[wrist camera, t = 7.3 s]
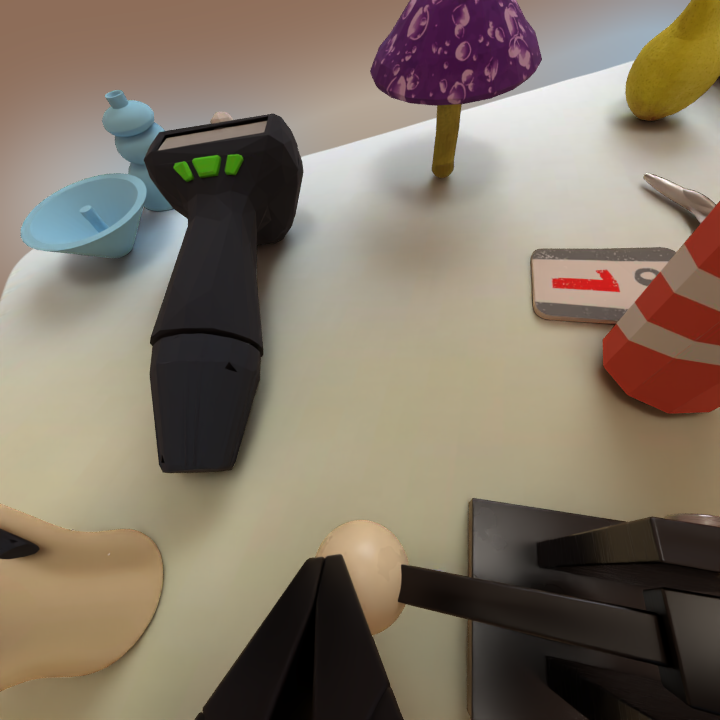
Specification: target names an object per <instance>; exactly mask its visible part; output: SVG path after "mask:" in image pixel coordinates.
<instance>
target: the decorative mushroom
mask: <svg viewBox="0 0 720 720" xmlns="http://www.w3.org/2000/svg"><path fill="white" fill-rule="evenodd" d="M541 60H542V58H541V54H540V50H539V46H538V41H537V37H536V34H535V31H534V30H533V28H532V27H531V26H530V24H529V23H528V22H527V21H526V19H525V17H524V15H523V13H522V11H521V9H520V7H519V5H518V3H517V1H516V0H410V2H409V3H408V5H407V6H406V8H405V10H404V11H403V13H402V15H401V16H400V18H399V20H398V21H397V23H396V25H395V27H394V28H393V30H392V31H391V33H390V34H389V35H388V37H387V38H386V39H385V41H384V42H383V43H382V44H381V45H380V47H379V49H378V52H377V54H376V57H375V59H374V62H373V65H372V68H371V71H370V72H371V75H372V78H373V79H374V82H375V84H376V86H377V87H378V88H379V89H380V90H381V91H382V92H384V93H385V94H387V95H388V96H390V97H391V98H395V99H398V100H402V101H405V102H408V103H414V104H426V105H437V124H436V137H435V146H434V155H433V164H432V172H433V173H434V175H435V176H436V177H439V178H445V177H447V176H449V175H450V174H451V172H452V171H453V169H454V156H455V149H456V143H457V137H458V131H459V122H460V113H461V105H462V104H465V103H470V102H475V101H480V100H485V99H490V98H493V97H495V96H498V95H500V94H503V93H506V92H508V91H511V90H513V89H515V88H516V87H517V86H519V85H520V84H522V83H523V82H525V81H526V80H527V79H528V78H529V77H530V76H531V75H532V74H533V73H534V72H535V71H536V69H537V67H538V66H539V64H540V62H541Z"/></svg>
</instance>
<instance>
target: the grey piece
mask: <svg viewBox="0 0 720 720" xmlns="http://www.w3.org/2000/svg"><path fill="white" fill-rule="evenodd" d="M644 175H645V174H644ZM644 179H645V180H646V181H647V182H648V183H649V184H650V185H651V186H652V187H654V188H655V189H656V190H657V191H659V192H660V193H661V194H663V195H664V196H666V197H667V198H669V199H670V200H672V201H674V202H675V203H677V204H679V205H680V206H682V207H684V208H685V209H687V210H689V211H690V212H692V213H693V214H694V215H695V217H696V218H697V219H698V221H699V222H700V223H702V222H703V220H704V219H705V218H706V217H707V216H708V214H709V213H710V212H711V211H712V210H713V208H714V207H715V206H716V204H715V203H714V202H713V201H711V200H710V199H709V198H708V197H706V196H705V195H703V194H701V193H699V192H697V191H694V190H690V189H685V188H683V187H681V186H679V185H677V184H675V183H673V182H671V181H669V180H667V179H664V178H662V177H659V176H656V175H654V174H651V173H647V174H646V175H645V176H644Z"/></svg>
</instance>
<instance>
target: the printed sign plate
mask: <svg viewBox="0 0 720 720" xmlns="http://www.w3.org/2000/svg"><path fill="white" fill-rule="evenodd" d="M675 254H676V252H675V251H673V250H671V249H668V248H661V247H657V248H614V249H537V250H535V251H534V252H533V254H532V257H531V266H532V288H533V308H534V311H535V313H536V314H537V315H538V316H540V317H541V318H543V319H548V320H561V321H576V322H591V323H607V324H616V323H617V322H618V321H619V320H620V319H621V317H622V316H623V315H624V314H625V313H626V312H627V310H628V309H629V308H630V307H631V306H632V304H633V303H634V302H635V301H636V300H637V299H638V297H639V296H640V295H641V294H642V293H643V291H644V290H645V289H646V288H647V287H648V286H649V284H650V283H651V282H652V281H653V280H654V278H655V277H656V276H657V275H658V274H659V272H660V271H661V270H662V269H663V268H664V267H665V265H666V264H667V263H668V262H669V261H670V259H671V258H672V257H673V256H674V255H675Z"/></svg>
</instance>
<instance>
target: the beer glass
mask: <svg viewBox="0 0 720 720" xmlns="http://www.w3.org/2000/svg"><path fill="white" fill-rule="evenodd" d="M162 585H163V563H162V558H161V555H160V552H159V550H158V548H157V546H156V544H155V543H154V542H153V541H152V539H151V538H149V537H148V536H147V535H145V534H144V533H142V532H140V531H137V530H134V529H114V530H107V531H99V532H81V531H74V529H72V530H69V529H65V528H62V527H59V526H56V525H54V524H51V523H48V522H46V521H43V520H41V519H38V518H36V517H34V516H31V515H29V514H26V513H24V512H21V511H19V510H16V509H13V508H11V507H8V506H6V505H3V504H1V503H0V692H1V691H3V690H5V689H7V688H10V687H13V686H15V685H18V684H21V683H24V682H27V681H31V680H35V679H40V678H55V677H78V676H84V675H89V674H92V673H95V672H98V671H100V670H102V669H104V668H106V667H108V666H110V665H111V664H113V663H114V662H116V661H117V660H118V659H120V658H121V657H122V656H123V655H125V654H126V653H127V652H128V651H129V650H130V649H131V648H132V647H133V646H134V644H135V643H136V642H137V641H138V640H139V638H140V637H141V636H142V634H143V633H144V631H145V630H146V628H147V626H148V625H149V623H150V621H151V619H152V617H153V615H154V613H155V610H156V608H157V605H158V602H159V599H160V595H161V591H162Z"/></svg>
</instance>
